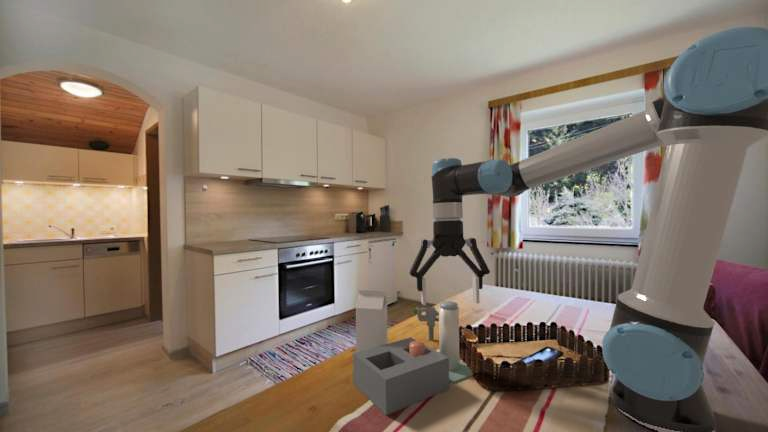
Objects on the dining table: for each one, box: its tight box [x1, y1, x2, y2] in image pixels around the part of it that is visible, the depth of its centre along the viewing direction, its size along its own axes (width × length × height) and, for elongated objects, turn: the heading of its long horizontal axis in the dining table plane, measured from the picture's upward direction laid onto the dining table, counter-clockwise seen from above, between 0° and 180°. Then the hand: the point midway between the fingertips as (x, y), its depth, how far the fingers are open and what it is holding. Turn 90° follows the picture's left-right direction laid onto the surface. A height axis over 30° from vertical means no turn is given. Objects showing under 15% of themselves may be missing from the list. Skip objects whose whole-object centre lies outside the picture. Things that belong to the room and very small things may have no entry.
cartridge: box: [438, 300, 460, 371], centre depth 79 cm, size 5×5×16 cm
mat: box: [449, 359, 474, 384], centre depth 79 cm, size 12×9×1 cm
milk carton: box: [355, 289, 389, 353], centre depth 84 cm, size 7×7×19 cm
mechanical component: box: [413, 306, 439, 342], centre depth 97 cm, size 3×10×10 cm, turn 89°
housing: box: [352, 337, 450, 416], centre depth 71 cm, size 14×17×7 cm
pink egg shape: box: [409, 340, 426, 357], centre depth 73 cm, size 4×4×8 cm
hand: (450, 303), depth 79 cm, fingers open, 13 cm apart
